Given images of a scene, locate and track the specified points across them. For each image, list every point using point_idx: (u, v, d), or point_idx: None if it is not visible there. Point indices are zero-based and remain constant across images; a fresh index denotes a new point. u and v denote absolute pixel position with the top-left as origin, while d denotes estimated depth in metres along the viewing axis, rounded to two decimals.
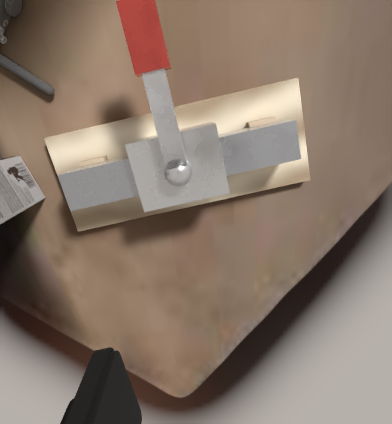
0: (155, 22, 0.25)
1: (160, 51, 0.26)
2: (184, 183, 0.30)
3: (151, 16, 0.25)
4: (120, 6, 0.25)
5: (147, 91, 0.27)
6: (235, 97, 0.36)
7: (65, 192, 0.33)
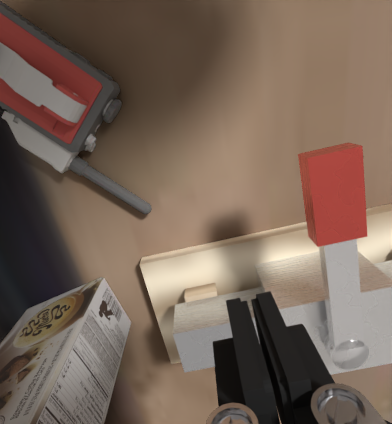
0: (357, 183, 0.18)
1: (358, 219, 0.19)
2: (356, 365, 0.22)
3: (354, 176, 0.18)
4: (312, 165, 0.17)
5: (328, 263, 0.20)
6: (385, 217, 0.28)
7: (180, 352, 0.26)
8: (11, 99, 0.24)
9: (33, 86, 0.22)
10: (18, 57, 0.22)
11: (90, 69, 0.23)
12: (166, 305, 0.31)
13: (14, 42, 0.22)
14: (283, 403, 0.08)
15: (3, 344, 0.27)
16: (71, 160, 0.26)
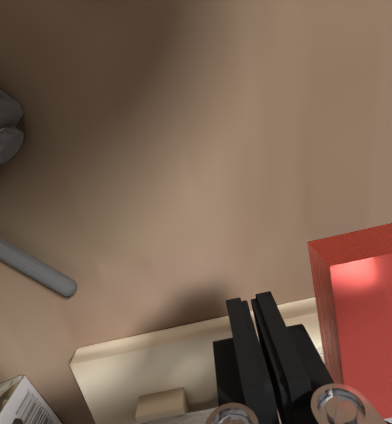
0: None
1: None
2: None
3: None
4: (340, 280, 0.08)
5: None
6: None
7: None
8: None
9: None
10: None
11: None
12: (113, 418, 0.21)
13: None
14: (283, 403, 0.08)
15: None
16: None
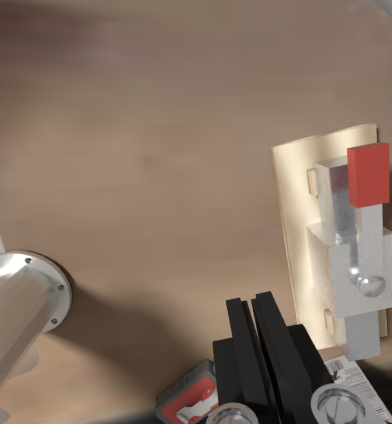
0: (385, 167, 0.29)
1: (384, 190, 0.29)
2: (377, 295, 0.33)
3: (383, 162, 0.28)
4: (357, 154, 0.28)
5: (362, 220, 0.30)
6: (286, 204, 0.39)
7: (363, 357, 0.39)
8: None
9: (201, 408, 0.45)
10: (186, 408, 0.46)
11: (197, 378, 0.46)
12: None
13: (179, 405, 0.47)
14: (283, 403, 0.08)
15: None
16: None
